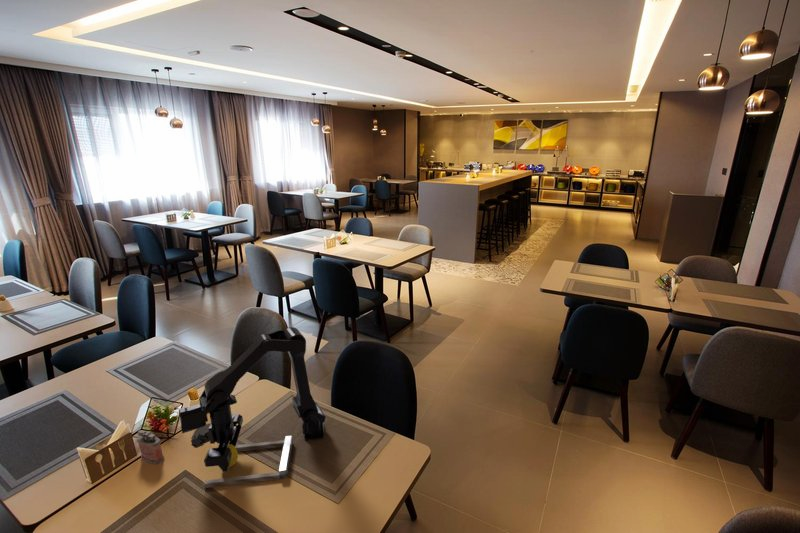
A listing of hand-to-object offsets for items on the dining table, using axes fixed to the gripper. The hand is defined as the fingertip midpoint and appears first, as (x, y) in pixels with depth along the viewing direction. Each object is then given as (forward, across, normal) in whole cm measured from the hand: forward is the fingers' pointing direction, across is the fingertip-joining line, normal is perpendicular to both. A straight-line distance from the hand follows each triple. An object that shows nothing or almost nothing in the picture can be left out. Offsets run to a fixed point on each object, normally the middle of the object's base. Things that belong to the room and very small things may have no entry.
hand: (228, 461), depth 119 cm
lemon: (+2, 0, 0) cm, 2 cm away
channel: (+2, 0, +6) cm, 7 cm away
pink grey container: (+2, -7, -25) cm, 26 cm away
